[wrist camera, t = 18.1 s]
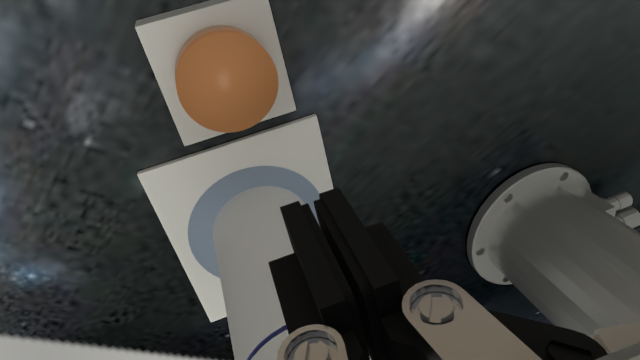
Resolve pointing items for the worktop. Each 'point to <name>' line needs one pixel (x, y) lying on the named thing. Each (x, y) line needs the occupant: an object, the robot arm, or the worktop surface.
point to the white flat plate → (231, 192)
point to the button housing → (181, 24)
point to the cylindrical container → (253, 268)
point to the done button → (225, 79)
